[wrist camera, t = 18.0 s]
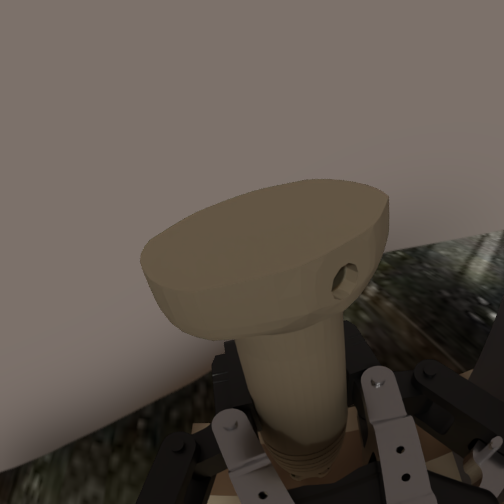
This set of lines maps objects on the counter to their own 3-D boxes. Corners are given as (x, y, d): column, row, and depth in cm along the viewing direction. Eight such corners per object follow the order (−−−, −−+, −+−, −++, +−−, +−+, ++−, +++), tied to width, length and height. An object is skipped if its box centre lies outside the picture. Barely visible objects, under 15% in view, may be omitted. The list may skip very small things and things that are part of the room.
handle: (242, 462, 15) (126, 240, 8) (324, 408, 17) (303, 173, 10) (287, 517, 11) (178, 331, 4) (375, 450, 13) (423, 196, 6)
